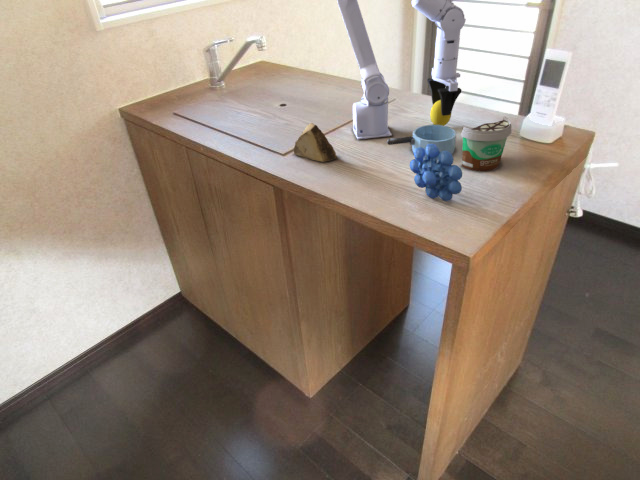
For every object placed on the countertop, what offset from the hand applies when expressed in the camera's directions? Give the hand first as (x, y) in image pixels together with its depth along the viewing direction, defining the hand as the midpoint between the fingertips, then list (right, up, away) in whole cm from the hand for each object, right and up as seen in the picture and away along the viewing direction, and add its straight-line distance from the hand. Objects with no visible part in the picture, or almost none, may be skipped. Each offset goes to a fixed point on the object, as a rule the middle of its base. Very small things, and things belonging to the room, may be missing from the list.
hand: (441, 109), depth 121 cm
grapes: (-10, -27, -27) cm, 39 cm away
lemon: (0, -4, +3) cm, 5 cm away
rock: (-34, -14, -6) cm, 38 cm away
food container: (+6, -18, -17) cm, 26 cm away
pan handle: (-13, -11, -10) cm, 20 cm away
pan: (-4, -12, -8) cm, 15 cm away
